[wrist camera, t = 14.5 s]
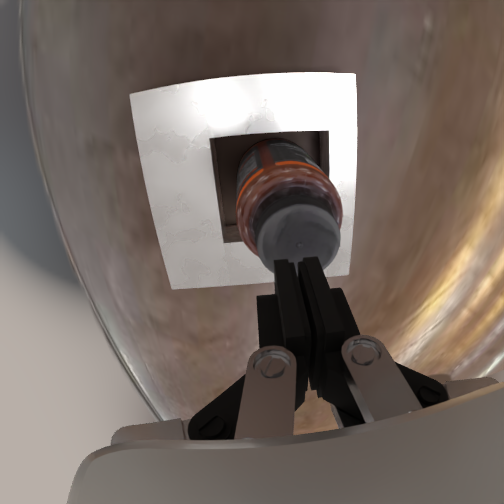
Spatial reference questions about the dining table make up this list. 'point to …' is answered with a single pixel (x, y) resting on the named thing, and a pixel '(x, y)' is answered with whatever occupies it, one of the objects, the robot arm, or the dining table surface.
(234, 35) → the dining table surface
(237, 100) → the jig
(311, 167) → the supplement bottle
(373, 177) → the dining table surface
